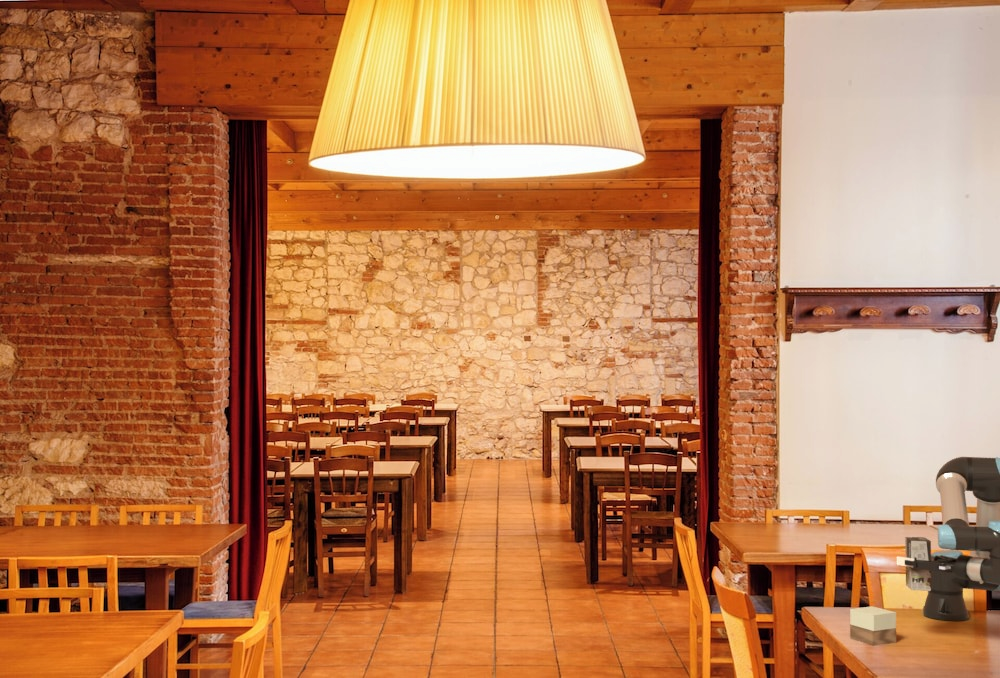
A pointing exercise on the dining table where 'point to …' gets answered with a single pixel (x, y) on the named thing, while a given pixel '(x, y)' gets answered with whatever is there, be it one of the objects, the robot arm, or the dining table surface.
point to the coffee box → (921, 551)
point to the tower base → (873, 635)
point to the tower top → (873, 618)
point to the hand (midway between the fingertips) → (906, 558)
